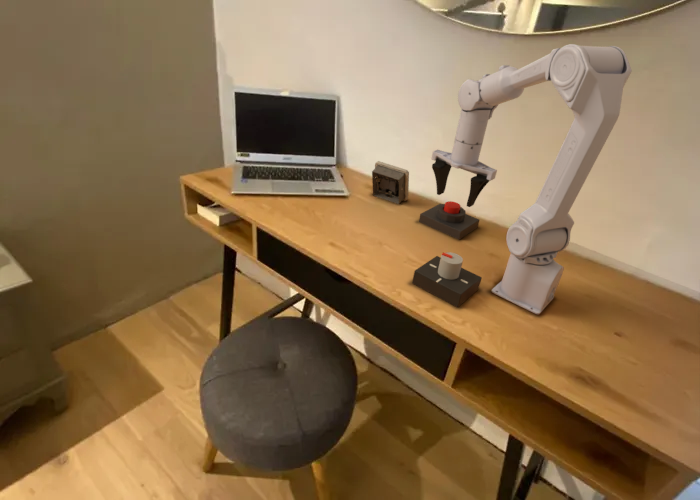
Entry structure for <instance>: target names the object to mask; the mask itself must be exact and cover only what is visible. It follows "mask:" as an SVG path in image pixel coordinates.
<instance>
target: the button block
mask: <svg viewBox="0 0 700 500" xmlns="http://www.w3.org/2000/svg"><path fill="white" fill-rule="evenodd" d="M444 206H445V203H439V204H437V205H434V206H433V207H431V208H429V209H427V210H425V211H423V212H421V213H420V214H419V219H418V220H419V221H418V223H420V224H423V225H425V226H427V227H429V228H432V229H434V230H436V231H437V232H441V233H443V234H445V235H447V236H450V237H452V238H454V239H456V240H461V239H462V238H464V237H466V236H467V235H468V234H470V233H472V232H473V231H474V230H476V229H478V227H479V224H480V218H477V217H474V216H472V215H469V214H467V213H466V210H465V209H464V208H463V207H462V206H461V207H460V211H459V214H450V213H447V212H445V211H444Z"/></svg>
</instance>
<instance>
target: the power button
mask: <svg viewBox="0 0 700 500" xmlns="http://www.w3.org/2000/svg"><path fill="white" fill-rule="evenodd" d="M444 204H445V206H444V211H445V212H447V213H450V214H459V211H460V207H462V206H461V204H460V203H458V202H455V201H451V200H449V201H446V202H445V203H444Z"/></svg>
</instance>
